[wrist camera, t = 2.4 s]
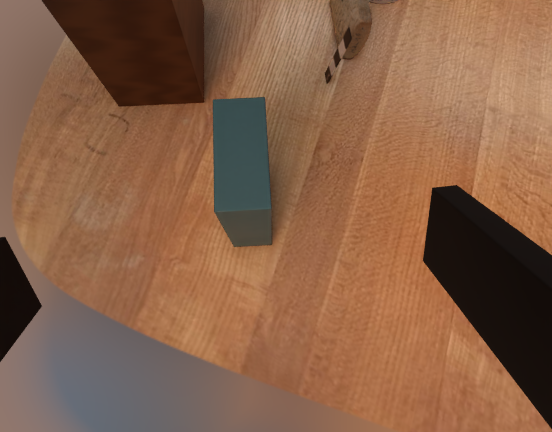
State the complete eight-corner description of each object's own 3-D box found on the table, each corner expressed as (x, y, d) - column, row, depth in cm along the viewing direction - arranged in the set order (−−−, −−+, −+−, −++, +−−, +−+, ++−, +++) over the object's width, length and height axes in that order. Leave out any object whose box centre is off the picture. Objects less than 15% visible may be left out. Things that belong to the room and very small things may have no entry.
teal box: (232, 247, 37) (211, 212, 24) (230, 167, 39) (210, 99, 27) (271, 244, 37) (271, 208, 25) (267, 166, 39) (264, 96, 27)
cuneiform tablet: (326, 83, 42) (311, 3, 46) (360, 84, 44) (343, 6, 47) (350, 38, 36) (330, -52, 39) (390, 41, 37) (367, -47, 40)
